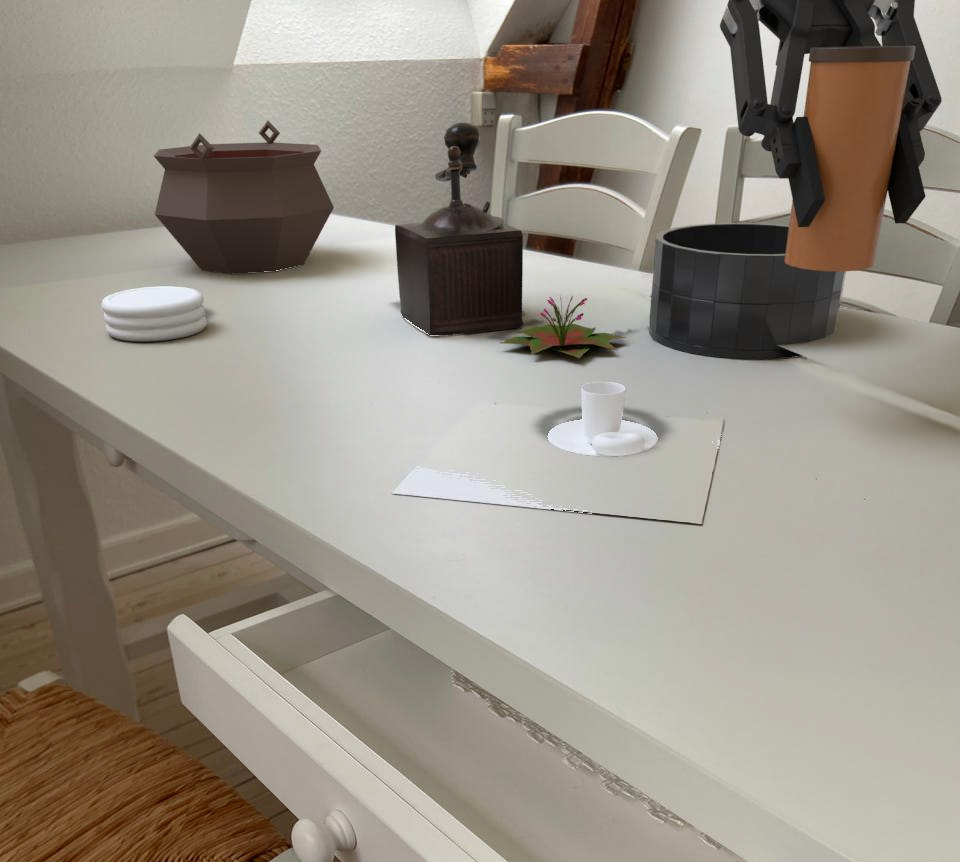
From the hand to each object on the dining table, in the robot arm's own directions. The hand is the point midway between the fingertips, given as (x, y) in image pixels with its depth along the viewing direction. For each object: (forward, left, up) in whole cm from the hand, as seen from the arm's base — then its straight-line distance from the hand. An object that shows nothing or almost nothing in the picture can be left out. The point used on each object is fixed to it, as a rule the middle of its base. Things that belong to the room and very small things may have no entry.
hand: (861, 211), depth 67 cm
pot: (+26, -11, -15) cm, 32 cm away
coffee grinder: (+45, +12, -15) cm, 49 cm away
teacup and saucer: (+3, +19, -15) cm, 25 cm away
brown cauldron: (+84, +26, -15) cm, 90 cm away
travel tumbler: (+3, -1, -4) cm, 5 cm away
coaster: (+52, +42, -15) cm, 69 cm away
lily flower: (+29, +7, -15) cm, 34 cm away
